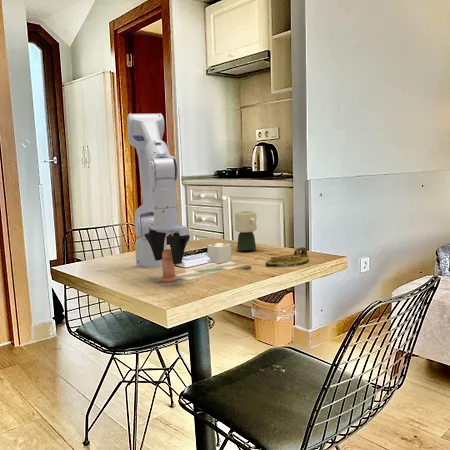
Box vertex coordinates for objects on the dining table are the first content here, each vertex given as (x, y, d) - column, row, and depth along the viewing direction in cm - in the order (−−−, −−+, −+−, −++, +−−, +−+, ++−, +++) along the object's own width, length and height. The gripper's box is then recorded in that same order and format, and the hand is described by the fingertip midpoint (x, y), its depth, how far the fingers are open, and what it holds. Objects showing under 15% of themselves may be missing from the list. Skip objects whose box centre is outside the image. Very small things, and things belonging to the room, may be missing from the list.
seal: (277, 274, 131) (318, 265, 139) (278, 258, 130) (318, 250, 138) (257, 265, 138) (296, 257, 146) (257, 249, 137) (297, 242, 145)
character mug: (264, 252, 155) (263, 212, 153) (245, 254, 152) (244, 214, 150) (247, 247, 165) (246, 209, 163) (229, 249, 161) (228, 211, 160)
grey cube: (208, 261, 145) (207, 245, 144) (220, 258, 148) (219, 242, 147) (219, 263, 141) (218, 246, 140) (231, 260, 145) (230, 244, 144)
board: (146, 284, 121) (146, 280, 120) (226, 264, 140) (226, 260, 140) (170, 290, 113) (170, 286, 113) (251, 268, 132) (251, 265, 132)
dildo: (158, 280, 119) (156, 249, 118) (170, 277, 122) (169, 247, 121) (167, 283, 116) (165, 251, 115) (180, 280, 119) (178, 248, 118)
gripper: (134, 207, 119) (138, 260, 121) (169, 210, 109) (173, 268, 111) (157, 205, 124) (161, 256, 126) (193, 207, 114) (196, 263, 115)
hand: (168, 261), depth 119 cm, fingers open, 7 cm apart
